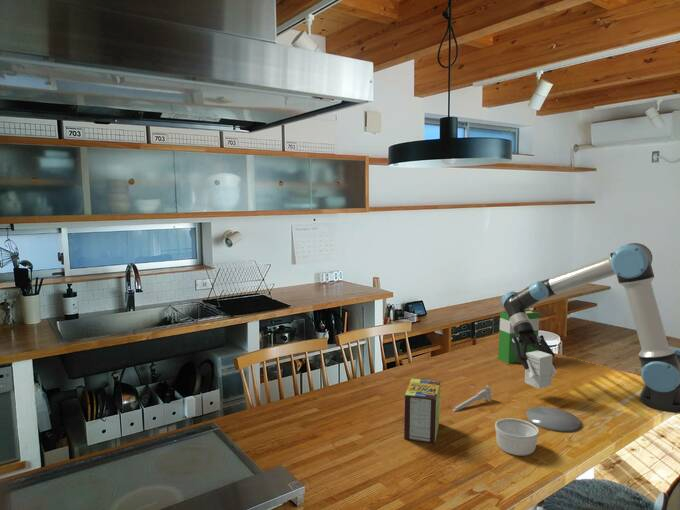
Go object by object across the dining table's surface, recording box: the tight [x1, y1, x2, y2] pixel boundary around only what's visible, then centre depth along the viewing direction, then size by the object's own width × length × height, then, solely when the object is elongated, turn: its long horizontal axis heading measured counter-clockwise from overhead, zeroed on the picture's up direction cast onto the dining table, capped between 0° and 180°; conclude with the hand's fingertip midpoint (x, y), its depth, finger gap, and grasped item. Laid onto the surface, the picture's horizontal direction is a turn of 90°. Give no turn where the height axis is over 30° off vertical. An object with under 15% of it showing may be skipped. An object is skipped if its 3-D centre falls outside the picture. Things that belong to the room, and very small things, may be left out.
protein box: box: [403, 378, 441, 444], centre depth 166 cm, size 10×15×16 cm
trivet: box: [525, 406, 581, 433], centre depth 176 cm, size 18×18×1 cm
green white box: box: [497, 308, 540, 364], centre depth 241 cm, size 18×7×24 cm, turn 111°
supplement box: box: [524, 350, 554, 389], centre depth 194 cm, size 7×7×13 cm
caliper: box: [452, 385, 492, 413], centre depth 188 cm, size 20×1×6 cm, turn 123°
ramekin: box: [494, 417, 540, 457], centre depth 156 cm, size 13×13×7 cm
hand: (543, 375), depth 191 cm, fingers closed on supplement box, 9 cm apart
